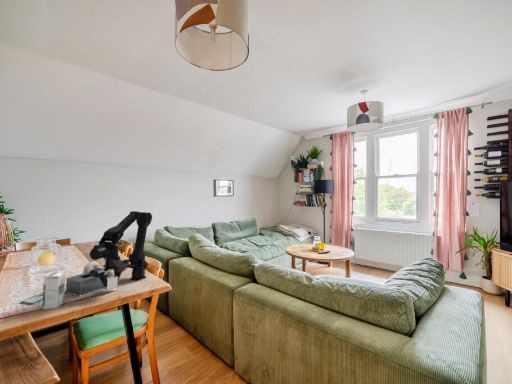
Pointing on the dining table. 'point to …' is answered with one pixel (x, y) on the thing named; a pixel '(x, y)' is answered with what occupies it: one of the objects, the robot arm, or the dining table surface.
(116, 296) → the dining table surface
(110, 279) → the light grey block
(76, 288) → the cash box
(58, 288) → the syrup box
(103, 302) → the dining table surface
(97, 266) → the donut
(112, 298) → the dining table surface
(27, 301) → the smartphone
